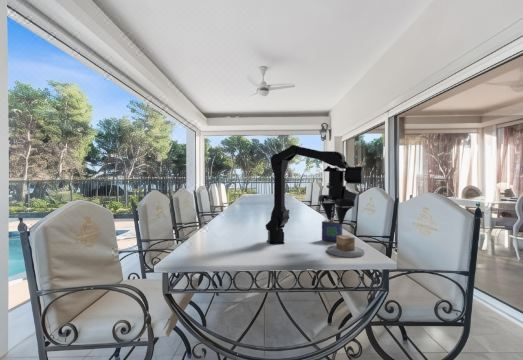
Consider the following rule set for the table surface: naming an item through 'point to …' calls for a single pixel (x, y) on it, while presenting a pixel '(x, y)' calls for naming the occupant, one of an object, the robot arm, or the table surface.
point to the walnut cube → (345, 243)
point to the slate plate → (345, 252)
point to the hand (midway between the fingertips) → (334, 221)
